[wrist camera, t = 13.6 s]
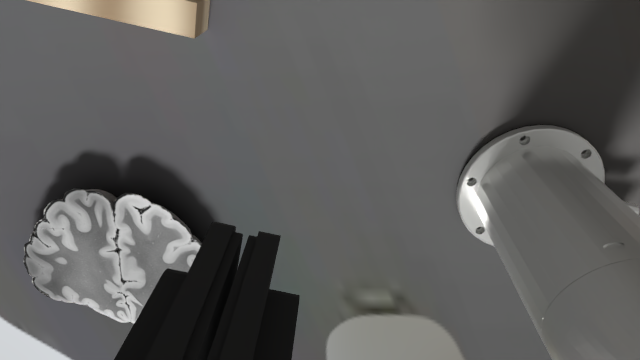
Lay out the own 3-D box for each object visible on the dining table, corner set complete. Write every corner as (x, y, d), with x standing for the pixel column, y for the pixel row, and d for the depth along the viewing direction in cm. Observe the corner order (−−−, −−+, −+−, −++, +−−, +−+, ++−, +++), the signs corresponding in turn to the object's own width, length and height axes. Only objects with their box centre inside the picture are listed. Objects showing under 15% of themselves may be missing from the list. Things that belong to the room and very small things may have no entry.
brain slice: (226, 186, 41) (219, 203, 38) (225, 313, 49) (218, 333, 47) (20, 161, 41) (-2, 176, 38) (54, 293, 49) (38, 313, 46)
